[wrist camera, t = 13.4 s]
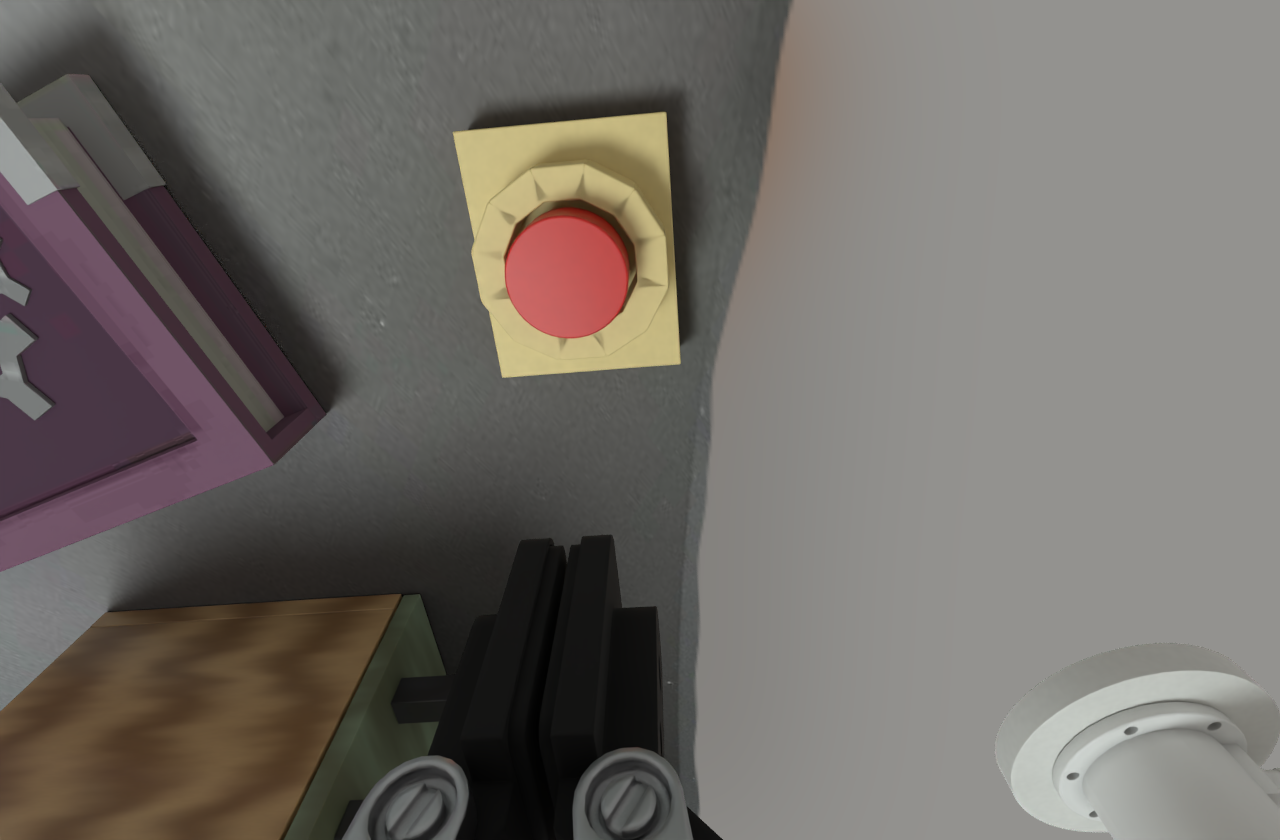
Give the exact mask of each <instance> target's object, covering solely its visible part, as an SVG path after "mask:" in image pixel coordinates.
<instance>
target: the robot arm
mask: <svg viewBox="0 0 1280 840" xmlns="http://www.w3.org/2000/svg"><path fill="white" fill-rule="evenodd" d="M1052 779H1053V784H1054V787H1055V789H1056V791H1057V792H1058V794H1059V796H1060V798H1061V799H1062V801H1063V802H1064V803H1065V805H1066V806H1067V807H1068V808H1069V809H1070V810H1072V811H1073V812H1075V813H1076V814H1078V815H1080V816H1083V817H1085V818H1088V819H1091V820H1095V821H1100V822H1102V823H1103V824H1104V826H1105V827H1106V829H1107V830H1108V832H1109V833H1110V835H1111V836H1112V838H1113V840H1280V768H1277V769H1276V768H1275V769H1273V770H1264V769H1262V768H1260V767H1259V766H1258V765H1257V764H1256V763H1255V762H1254V761H1253V760H1252V759H1251V758H1250V757H1249V756H1248V755H1247V742H1246V739H1245V736H1244V734H1243V733H1242V732H1241V730H1240V729H1239V728H1238V727H1237V726H1236V725H1235V724H1234V723H1233V722H1232V721H1231V719H1229V718H1228V717H1227V716H1226V715H1225V714H1223V713H1222V712H1221V711H1218V710H1216V709H1214V708H1212V707H1210V706H1206V705H1202V704H1197V703H1191V702H1178V701H1174V702H1158V703H1152V704H1146V705H1140V706H1137V707H1133V708H1130V709H1126V710H1123V711H1120V712H1118V713H1115V714H1113V715H1110V716H1108V717H1105V718H1103V719H1102V720H1100V721H1098V722H1096V723H1094V724H1092V725H1090V726H1089V727H1087V728H1086V729H1085V730H1083V731H1082V732H1080V733H1079V734H1078V735H1076V736H1075V737H1074V738H1073V739H1072V740H1071V741H1070V742H1069V743H1068V744H1067V745H1066V746H1065V747H1064V749H1063V750H1062V751H1061V753H1060V754H1059V755H1058V758H1057V760H1056V762H1055V765H1054V767H1053V774H1052ZM342 840H723V839H722V838H720V837H719V836H718V835H717V834H716V833H715V832H714V831H713V830H712V829H710V827H709V826H707V825H706V824H705V823H704V822H703V821H702V820H701V819H700V818H699V817H698V816H697V815H696V814H695V813H693V812H692V811H691V810H690V809H689V808H688V807H687V806H686V802H685V797H684V792H683V788H682V785H681V783H680V780H679V777H678V775H677V772H676V771H675V770H674V769H673V767H672V766H671V765H670V764H669V762H668V761H667V760H666V759H664V728H663V687H662V662H661V646H660V633H659V622H658V612H657V607H656V606H654V607H635V608H622V603H621V595H620V587H619V579H618V571H617V563H616V555H615V546H614V539H613V536H612V535H598V536H583V537H582V540H581V545H571V547H570V552H569V558H568V563H567V561H566V555H565V550H564V547H563V546H554V542H553V540H552V539H551V538H546V539H529V540H521V541H520V543H519V546H518V549H517V552H516V555H515V559H514V562H513V565H512V569H511V572H510V575H509V578H508V582H507V585H506V588H505V592H504V595H503V598H502V601H501V605H500V608H499V611H498V615H481V616H478V617H477V618H476V619H475V621H474V624H473V626H472V629H471V631H470V634H469V637H468V640H467V643H466V646H465V649H464V652H463V654H462V657H461V660H460V663H459V666H458V669H457V672H456V675H455V678H454V680H453V683H452V686H451V689H450V692H449V695H448V698H447V701H446V703H445V706H444V709H443V712H442V715H441V718H440V721H439V724H438V727H437V729H436V732H435V735H434V738H433V741H432V744H431V747H430V750H429V752H428V755H427V756H421V757H418V758H415V759H412V760H409V761H406V762H404V763H402V764H401V765H399V766H397V767H396V768H394V769H392V770H391V771H389V772H388V773H387V774H386V775H385V776H384V777H383V778H382V779H380V780H379V781H378V782H377V783H376V784H375V785H374V787H373V788H372V789H371V791H370V792H369V794H368V795H367V796H366V798H365V799H364V801H363V802H362V804H361V806H360V808H359V810H358V811H357V813H356V815H355V817H354V819H353V820H352V822H351V824H350V826H349V827H348V829H347V831H346V833H345V835H344V836H343V838H342Z"/></svg>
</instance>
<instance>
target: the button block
mask: <svg viewBox="0 0 1280 840" xmlns="http://www.w3.org/2000/svg"><path fill="white" fill-rule="evenodd" d="M453 136H454V141H455V146H456V151H457V156H458V161H459V165H460V170H461V175H462V180H463V185H464V190H465V195H466V200H467V205H468V210H469V215H470V220H471V225H472V230H473V235H474V240H475V241H474V244H473V247H472V252H471V253H472V258H473V263H474V268H475V273H476V278H477V282H478V287H479V292H480V297H481V301H482V303H483V304H484V306H485V307H486V308H487V309H488V310H489V314H490V319H491V324H492V329H493V334H494V338H495V343H496V348H497V353H498V358H499V363H500V368H501V373H502V377H503V378H505V377H518V376H531V375H544V374H557V373H570V372H583V371H596V370H609V369H622V368H635V367H648V366H661V365H674V364H680V363H681V359H680V341H679V324H678V306H677V289H676V271H675V254H674V236H673V219H672V201H671V184H670V167H669V149H668V132H667V114H666V112H654V113H644V114H633V115H622V116H612V117H601V118H591V119H580V120H569V121H559V122H548V123H537V124H527V125H516V126H505V127H495V128H484V129H473V130H463V131H455V132H453ZM563 207H574V208H581V209H585V210H588V211H591V212H593V213H595V214H597V215H599V216H601V217H602V218H604V219H605V220H606V221H608V222H609V223H610V224H611V225H612V226H613V227H614V228H615V230H616V231H617V232H618V233H619V235H620V237H621V238H622V240H623V242H624V244H625V247H626V250H627V253H628V258H629V283H628V291H627V296H626V299H625V302H624V304H623V306H622V308H621V310H620V312H619V313H618V315H617V316H616V317H615V319H614V320H613V321H612V322H611V323H610V324H608V325H607V326H606V327H605V328H603V329H602V330H600V331H598V332H596V333H594V334H592V335H589V336H585V337H581V338H569V339H567V338H559V337H554V336H551V335H548V334H545V333H543V332H541V331H539V330H537V329H536V328H534V327H533V326H531V325H530V324H529V323H528V322H526V321H525V320H524V319H523V318H522V317H521V316H520V314H519V313H518V312H517V310H516V309H515V308H514V306H513V304H512V302H511V300H510V298H509V295H508V293H507V289H506V285H505V263H506V258H507V255H508V252H509V250H510V247H511V245H512V244H513V242H514V240H515V239H516V238H517V236H518V235H519V234H520V233H521V232H522V231H523V230H524V229H525V228H526V227H527V226H528V225H529V224H530V223H531V222H532V221H533V220H534V219H535V218H537V217H538V216H540V215H541V214H543V213H545V212H548V211H550V210H553V209H557V208H563Z"/></svg>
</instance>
